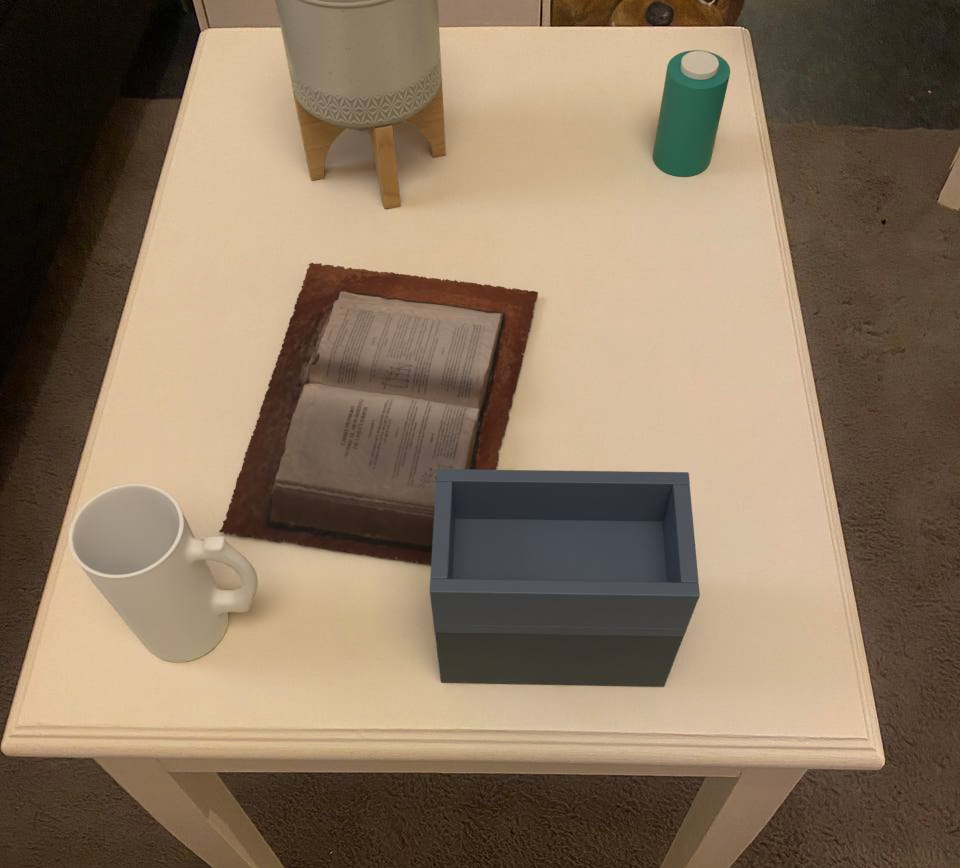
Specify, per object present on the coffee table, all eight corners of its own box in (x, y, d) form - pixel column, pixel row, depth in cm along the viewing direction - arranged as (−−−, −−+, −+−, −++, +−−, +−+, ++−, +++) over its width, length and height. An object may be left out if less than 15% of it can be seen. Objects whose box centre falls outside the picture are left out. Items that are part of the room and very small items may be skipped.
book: (219, 539, 70) (206, 506, 66) (310, 267, 82) (303, 225, 78) (484, 584, 69) (487, 553, 65) (536, 303, 81) (542, 263, 77)
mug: (127, 664, 65) (55, 575, 54) (147, 581, 68) (83, 481, 58) (271, 670, 65) (227, 581, 54) (285, 585, 68) (246, 486, 57)
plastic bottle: (699, 135, 90) (719, 38, 82) (718, 171, 88) (741, 76, 80) (645, 143, 89) (660, 47, 81) (662, 180, 87) (679, 85, 79)
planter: (297, 133, 91) (255, -76, 75) (427, 108, 92) (413, -101, 76) (323, 221, 85) (283, 16, 69) (461, 194, 87) (453, -13, 71)
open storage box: (657, 578, 68) (688, 471, 57) (664, 687, 64) (700, 596, 53) (446, 575, 68) (436, 468, 57) (440, 683, 64) (429, 591, 53)
